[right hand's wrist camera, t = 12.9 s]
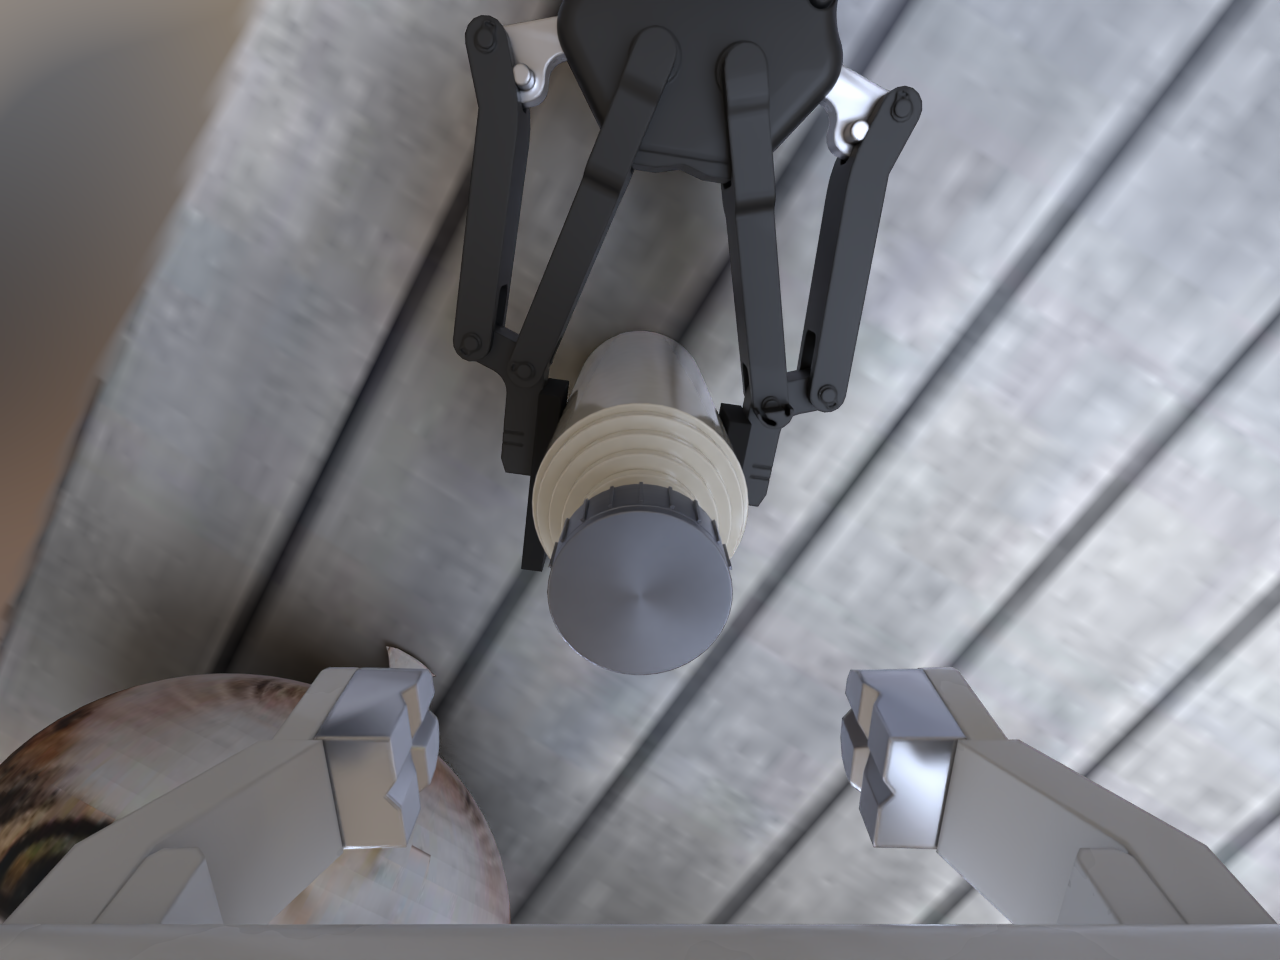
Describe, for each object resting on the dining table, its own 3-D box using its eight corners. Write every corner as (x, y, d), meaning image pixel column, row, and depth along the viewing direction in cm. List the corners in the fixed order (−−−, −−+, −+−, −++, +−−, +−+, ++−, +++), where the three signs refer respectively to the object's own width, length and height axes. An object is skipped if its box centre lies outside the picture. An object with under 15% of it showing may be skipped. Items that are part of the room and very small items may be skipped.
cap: (521, 582, 16) (509, 619, 14) (614, 446, 15) (612, 470, 13) (661, 664, 16) (664, 707, 15) (760, 539, 15) (773, 572, 14)
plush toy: (672, 758, 31) (429, 1422, 20) (528, 766, 46) (340, 1159, 35) (208, 470, 26) (-456, 1152, 15) (209, 581, 40) (-132, 974, 29)
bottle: (552, 412, 32) (450, 620, 15) (622, 304, 30) (598, 397, 13) (657, 478, 33) (674, 744, 16) (729, 377, 31) (836, 552, 14)
